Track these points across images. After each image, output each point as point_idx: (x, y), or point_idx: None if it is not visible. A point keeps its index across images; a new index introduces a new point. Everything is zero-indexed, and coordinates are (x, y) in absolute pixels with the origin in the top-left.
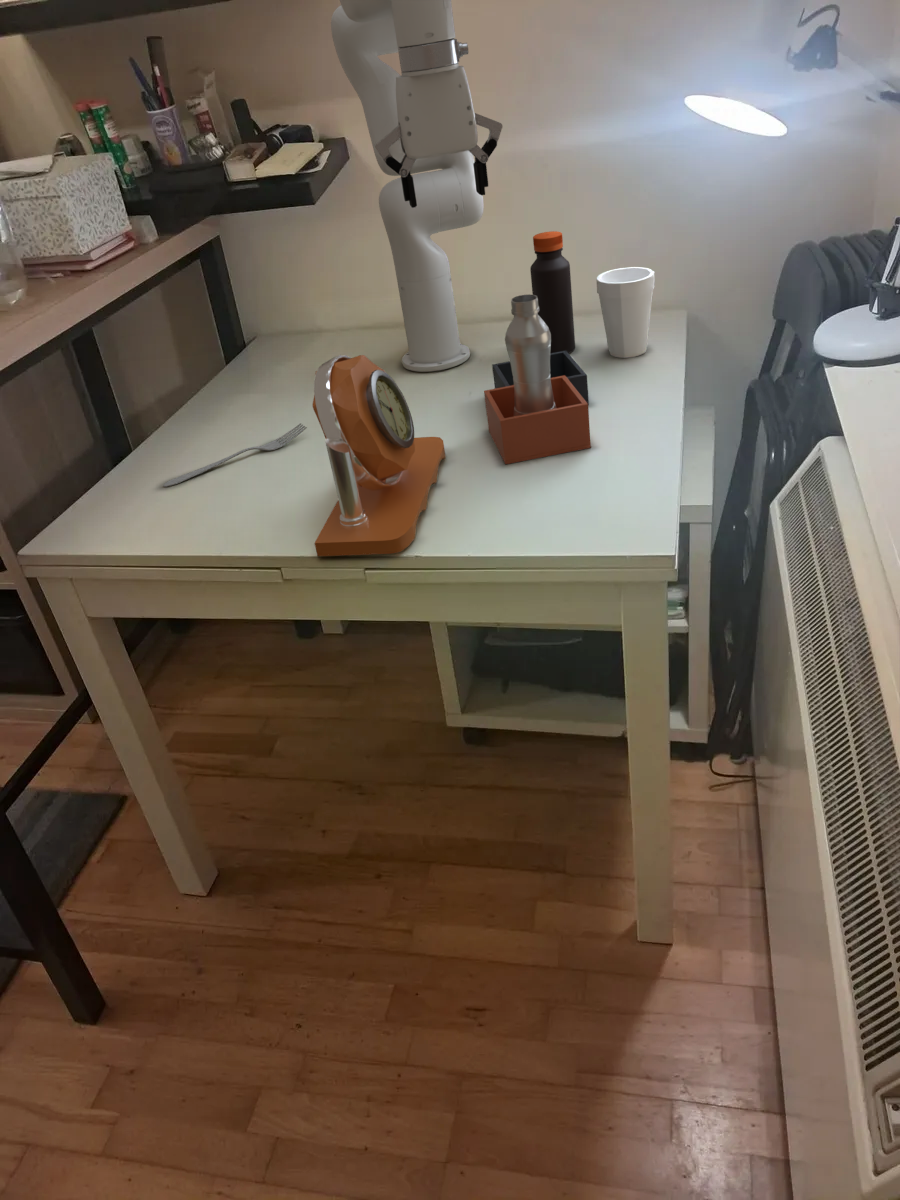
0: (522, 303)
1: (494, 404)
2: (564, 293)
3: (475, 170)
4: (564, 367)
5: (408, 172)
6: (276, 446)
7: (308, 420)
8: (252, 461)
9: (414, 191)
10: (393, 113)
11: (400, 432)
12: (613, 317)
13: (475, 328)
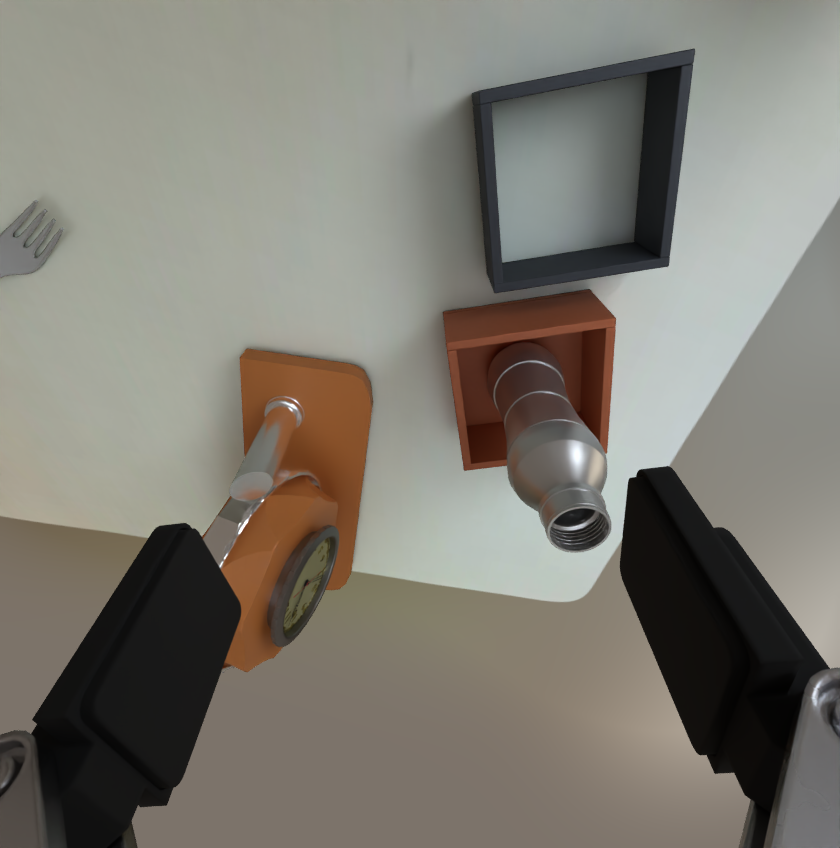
0: (566, 549)
1: (460, 411)
2: None
3: (690, 655)
4: (663, 73)
5: (131, 838)
6: (30, 263)
7: (19, 111)
8: (15, 306)
9: (211, 688)
10: None
11: (322, 562)
12: None
13: None
